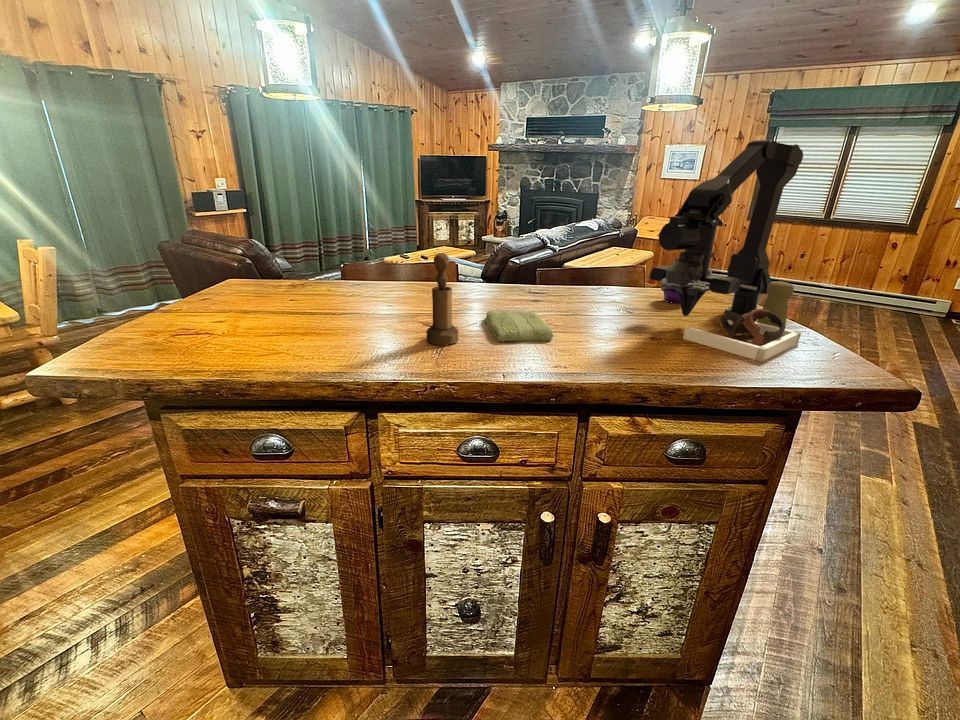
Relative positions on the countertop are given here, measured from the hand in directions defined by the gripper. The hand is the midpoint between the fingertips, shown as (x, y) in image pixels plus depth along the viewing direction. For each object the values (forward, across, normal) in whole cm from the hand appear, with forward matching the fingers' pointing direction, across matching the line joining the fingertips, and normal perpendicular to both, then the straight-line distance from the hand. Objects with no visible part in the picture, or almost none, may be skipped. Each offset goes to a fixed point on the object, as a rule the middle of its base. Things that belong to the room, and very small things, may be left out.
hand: (685, 315), depth 109 cm
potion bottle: (+3, -14, +19) cm, 24 cm away
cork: (+3, +13, +15) cm, 20 cm away
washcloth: (+3, -21, -34) cm, 40 cm away
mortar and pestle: (+3, -25, -52) cm, 57 cm away
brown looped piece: (+3, +14, +1) cm, 14 cm away
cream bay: (+2, +12, 0) cm, 13 cm away
